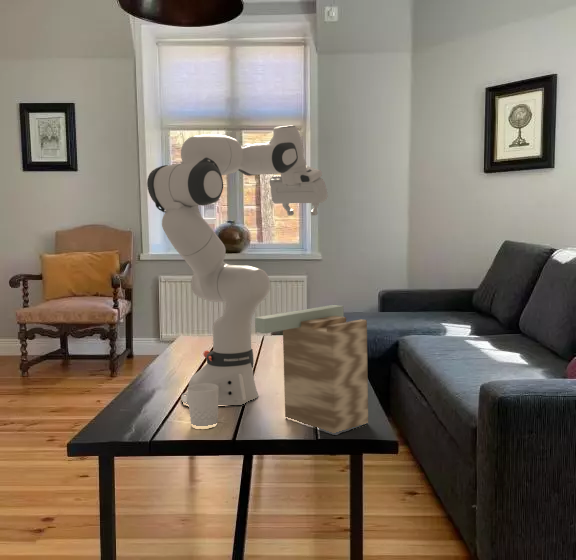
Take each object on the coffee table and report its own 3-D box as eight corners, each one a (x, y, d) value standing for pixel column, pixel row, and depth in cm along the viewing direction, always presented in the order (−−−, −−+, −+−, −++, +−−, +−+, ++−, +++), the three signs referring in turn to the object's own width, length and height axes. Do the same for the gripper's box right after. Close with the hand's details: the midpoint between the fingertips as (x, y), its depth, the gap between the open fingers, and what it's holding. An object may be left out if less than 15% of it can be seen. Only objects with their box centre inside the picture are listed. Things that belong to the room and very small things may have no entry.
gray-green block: (264, 333, 147) (264, 318, 146) (255, 331, 149) (255, 317, 149) (343, 319, 164) (343, 306, 164) (334, 317, 167) (334, 304, 167)
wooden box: (334, 436, 148) (332, 326, 145) (285, 419, 161) (282, 318, 158) (368, 424, 155) (366, 320, 153) (318, 408, 169) (316, 312, 166)
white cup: (221, 420, 162) (219, 382, 161) (218, 430, 154) (217, 391, 153) (190, 421, 162) (189, 383, 161) (187, 431, 154) (185, 392, 153)
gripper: (263, 179, 204) (272, 218, 209) (316, 176, 193) (323, 218, 198) (273, 173, 209) (282, 211, 214) (325, 170, 197) (333, 211, 203)
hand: (302, 215), depth 206 cm, fingers open, 8 cm apart
